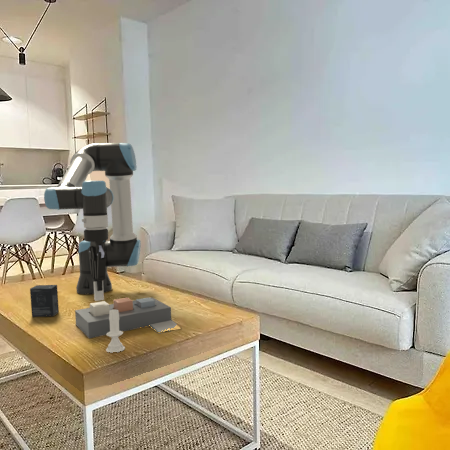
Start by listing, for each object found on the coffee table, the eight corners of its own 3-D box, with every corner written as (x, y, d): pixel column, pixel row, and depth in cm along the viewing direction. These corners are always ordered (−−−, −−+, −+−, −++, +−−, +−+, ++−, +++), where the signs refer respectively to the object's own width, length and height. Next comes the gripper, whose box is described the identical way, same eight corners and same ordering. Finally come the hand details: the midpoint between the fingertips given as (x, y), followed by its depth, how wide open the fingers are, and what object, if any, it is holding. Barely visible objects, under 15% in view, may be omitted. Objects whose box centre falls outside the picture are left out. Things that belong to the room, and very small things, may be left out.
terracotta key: (113, 311, 150) (113, 299, 149) (127, 308, 152) (127, 297, 152) (118, 314, 145) (118, 302, 145) (133, 312, 148) (132, 300, 148)
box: (59, 312, 163) (57, 284, 162) (53, 316, 158) (51, 288, 157) (38, 312, 163) (36, 284, 162) (31, 317, 158) (29, 288, 157)
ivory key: (90, 315, 145) (89, 303, 145) (105, 312, 148) (104, 301, 148) (94, 319, 141) (94, 307, 141) (109, 316, 144) (109, 304, 143)
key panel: (75, 324, 148) (75, 310, 148) (152, 310, 163) (152, 297, 163) (88, 338, 135) (88, 322, 135) (171, 321, 150) (170, 307, 149)
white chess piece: (102, 352, 124) (100, 311, 122) (110, 345, 129) (108, 305, 128) (120, 353, 123) (118, 311, 121) (127, 346, 128) (126, 306, 127)
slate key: (136, 310, 154) (135, 299, 154) (149, 308, 157) (149, 297, 156) (141, 314, 150) (141, 302, 149) (155, 311, 152) (154, 300, 152)
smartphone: (158, 332, 138) (143, 319, 151) (158, 335, 138) (143, 321, 151) (182, 328, 142) (166, 315, 155) (182, 330, 142) (166, 317, 155)
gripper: (78, 227, 145) (82, 297, 147) (89, 230, 134) (93, 306, 136) (101, 226, 149) (104, 294, 151) (113, 229, 138) (116, 302, 140)
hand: (99, 299), depth 144 cm, fingers closed
